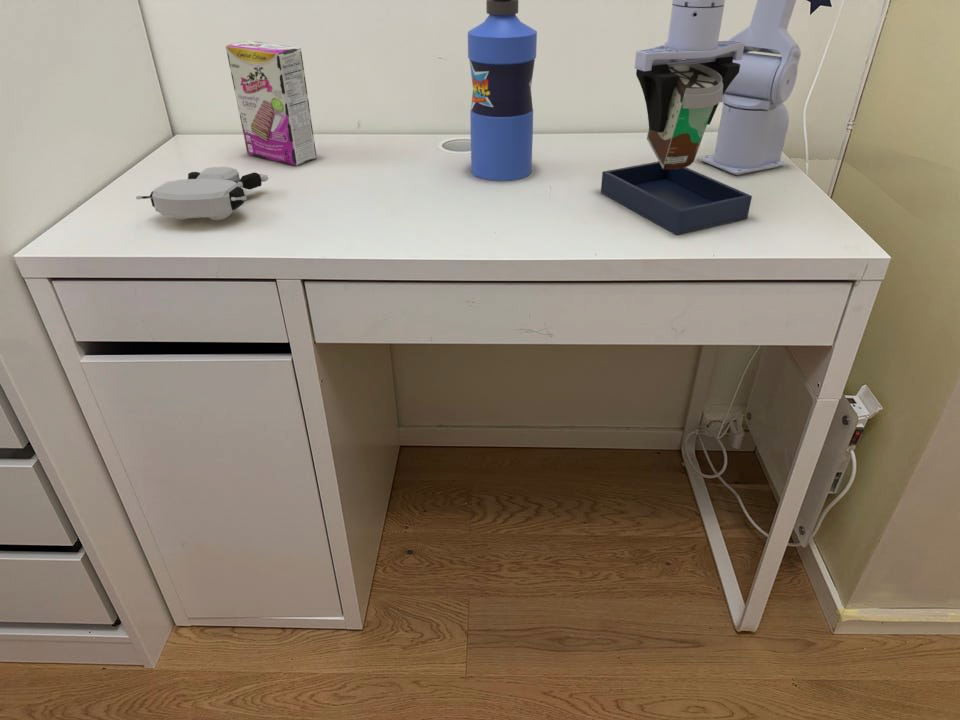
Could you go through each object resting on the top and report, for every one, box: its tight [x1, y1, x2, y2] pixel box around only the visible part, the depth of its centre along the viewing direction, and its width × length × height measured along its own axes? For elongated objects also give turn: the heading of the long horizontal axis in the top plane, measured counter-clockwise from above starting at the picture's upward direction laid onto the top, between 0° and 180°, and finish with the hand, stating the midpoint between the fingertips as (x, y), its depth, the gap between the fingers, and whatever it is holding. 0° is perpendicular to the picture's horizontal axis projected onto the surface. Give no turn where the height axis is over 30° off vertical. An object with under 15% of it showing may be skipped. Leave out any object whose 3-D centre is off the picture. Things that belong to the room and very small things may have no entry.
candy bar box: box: [224, 40, 318, 167], centre depth 105 cm, size 11×5×16 cm, turn 58°
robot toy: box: [135, 166, 269, 221], centre depth 90 cm, size 12×4×15 cm
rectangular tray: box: [600, 160, 753, 236], centre depth 90 cm, size 11×16×3 cm
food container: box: [646, 63, 723, 169], centre depth 84 cm, size 12×6×10 cm, turn 1°
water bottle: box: [467, 0, 538, 182], centre depth 96 cm, size 9×9×25 cm
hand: (680, 126), depth 86 cm, fingers closed on food container, 7 cm apart
